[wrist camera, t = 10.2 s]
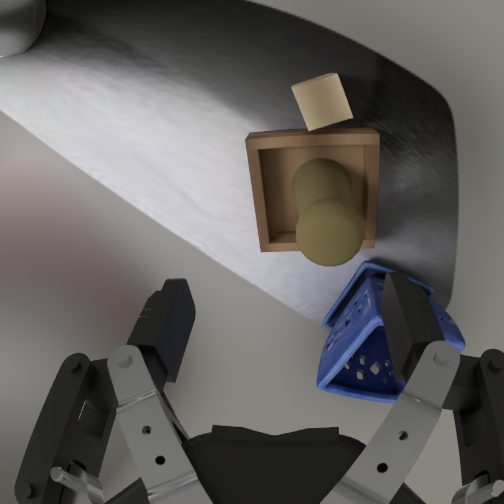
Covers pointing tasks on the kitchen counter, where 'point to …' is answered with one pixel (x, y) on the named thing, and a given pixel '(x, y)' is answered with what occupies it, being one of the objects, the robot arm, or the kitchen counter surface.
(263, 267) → the kitchen counter surface
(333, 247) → the cork
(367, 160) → the tray
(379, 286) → the flower pot
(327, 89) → the beech block
